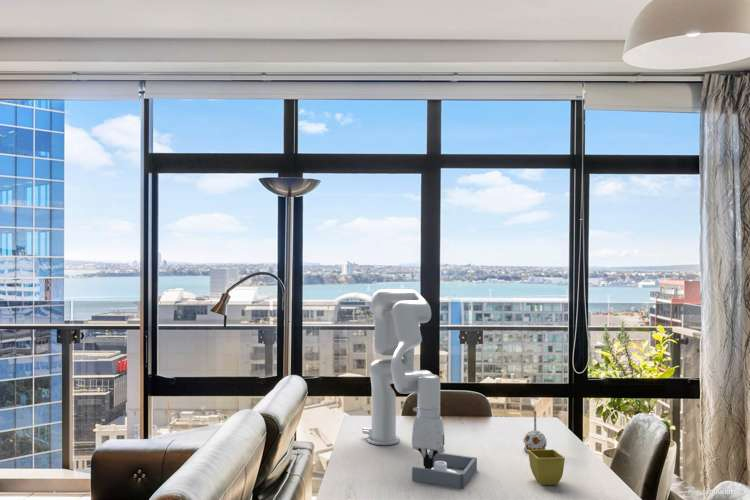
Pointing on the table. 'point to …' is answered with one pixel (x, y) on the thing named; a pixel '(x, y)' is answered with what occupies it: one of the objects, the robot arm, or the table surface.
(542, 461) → the flower pot
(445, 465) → the candle holder
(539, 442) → the decorative ornament
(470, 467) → the box
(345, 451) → the table surface
